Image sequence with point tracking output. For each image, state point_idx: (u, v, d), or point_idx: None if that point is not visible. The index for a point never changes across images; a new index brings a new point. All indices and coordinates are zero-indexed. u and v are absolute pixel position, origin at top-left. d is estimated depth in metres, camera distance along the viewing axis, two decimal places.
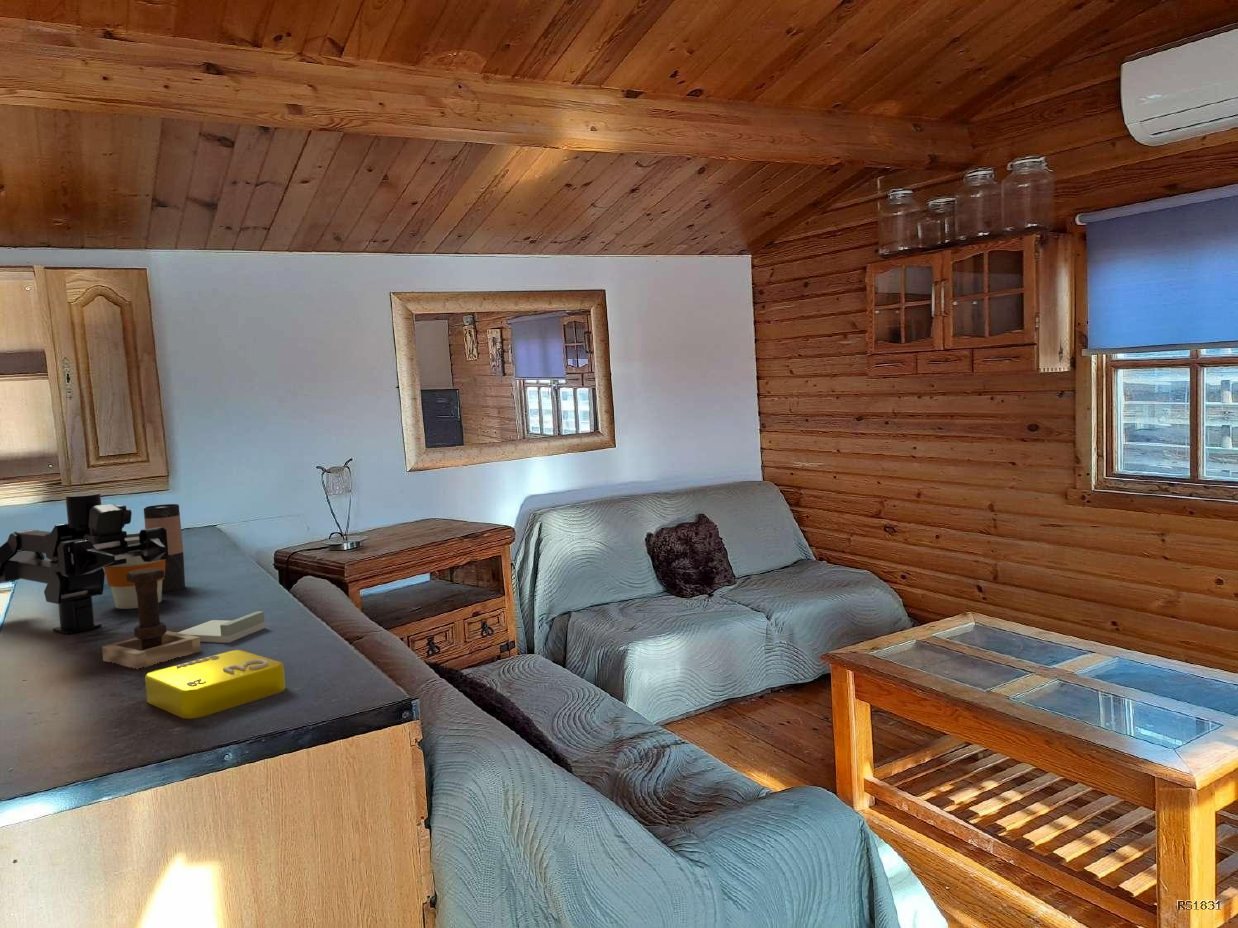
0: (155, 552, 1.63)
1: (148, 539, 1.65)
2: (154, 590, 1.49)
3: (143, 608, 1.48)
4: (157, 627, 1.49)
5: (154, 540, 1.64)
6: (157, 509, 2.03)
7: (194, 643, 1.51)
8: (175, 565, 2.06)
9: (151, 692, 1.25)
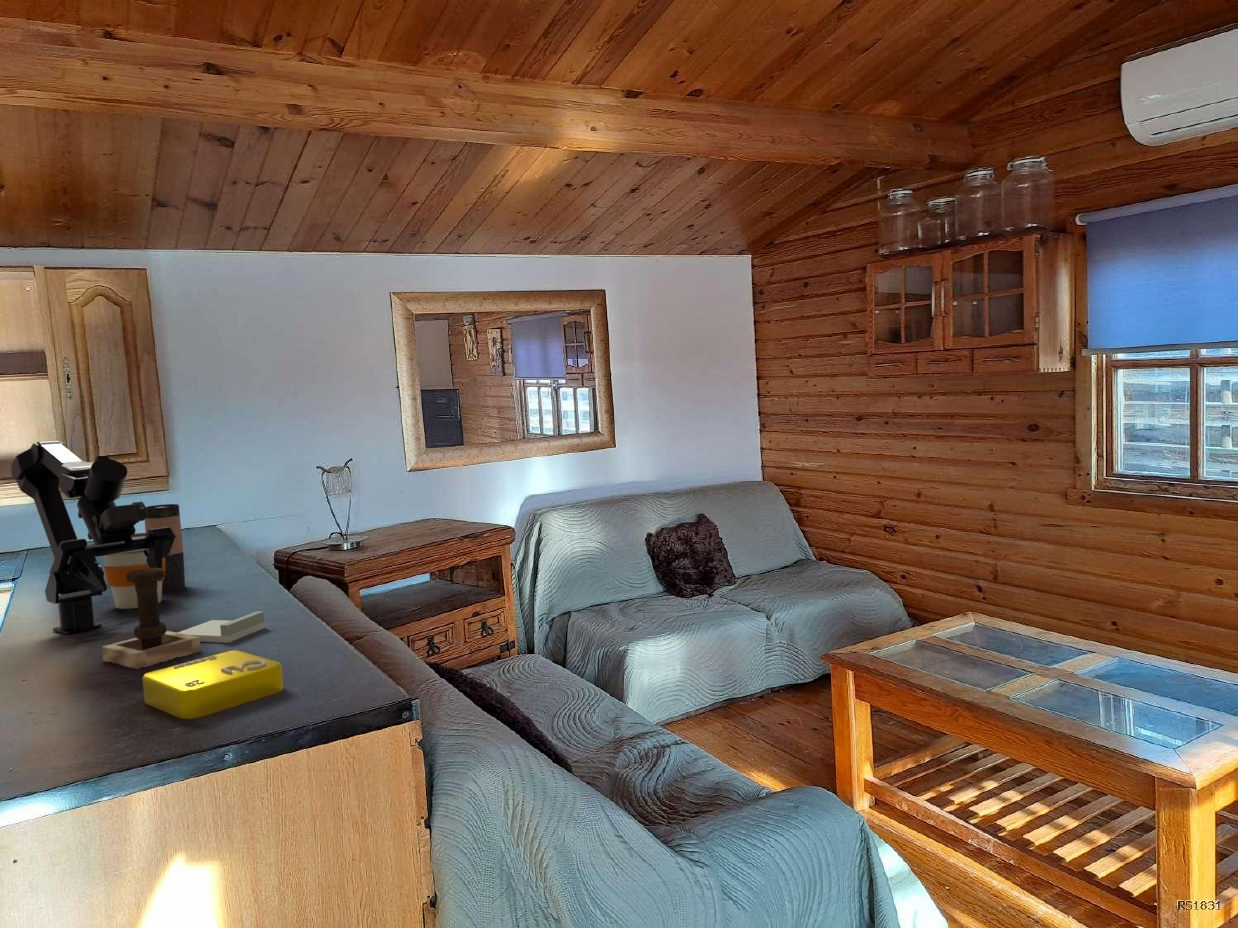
0: None
1: (152, 548, 1.59)
2: (154, 590, 1.49)
3: (143, 608, 1.48)
4: (157, 627, 1.49)
5: (158, 554, 1.58)
6: (157, 509, 2.03)
7: (194, 643, 1.51)
8: (175, 565, 2.06)
9: (148, 693, 1.25)
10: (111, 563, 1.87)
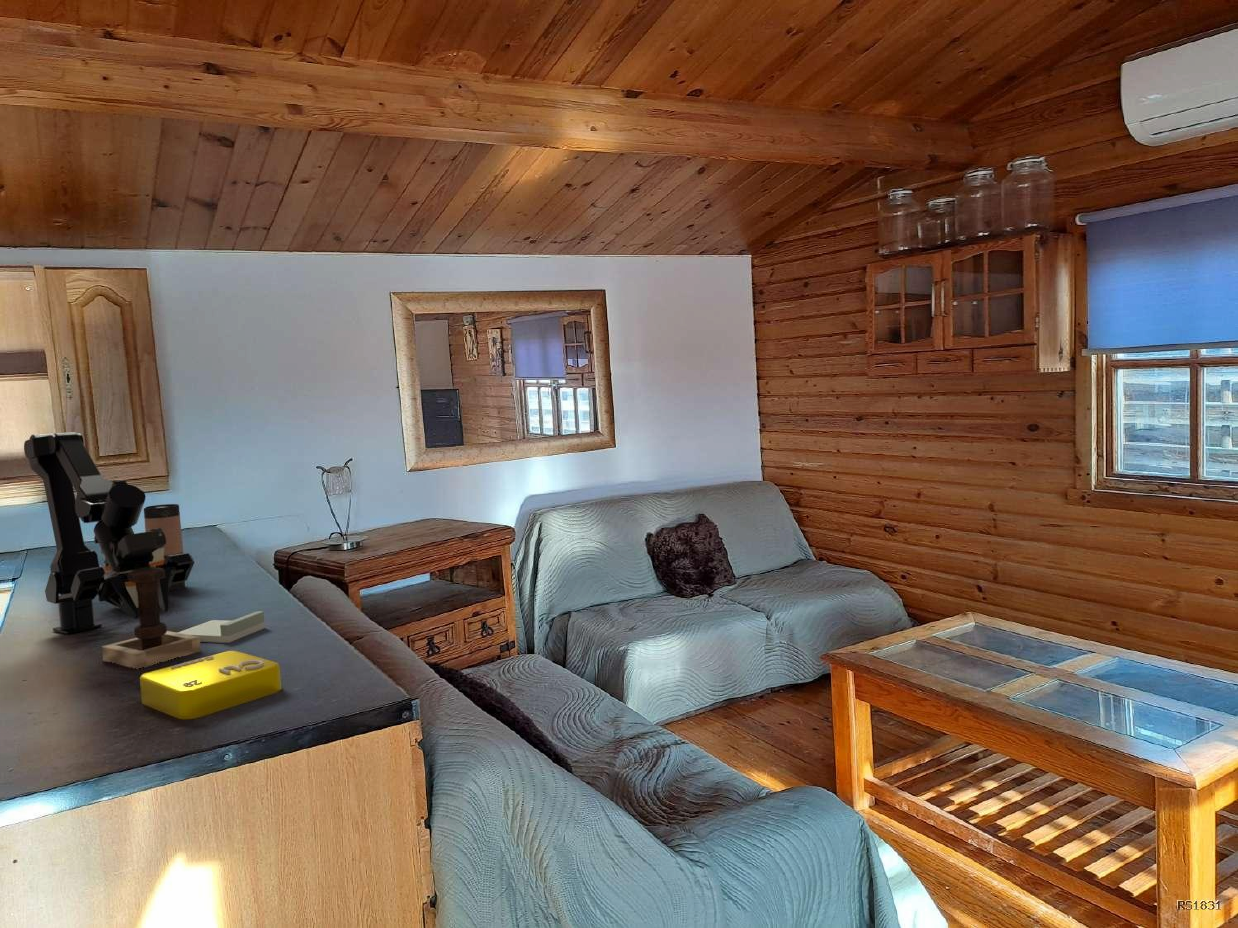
0: None
1: None
2: (155, 590, 1.49)
3: (144, 608, 1.49)
4: (157, 627, 1.49)
5: (163, 584, 1.53)
6: (157, 509, 2.03)
7: (194, 643, 1.51)
8: None
9: (146, 693, 1.25)
10: None
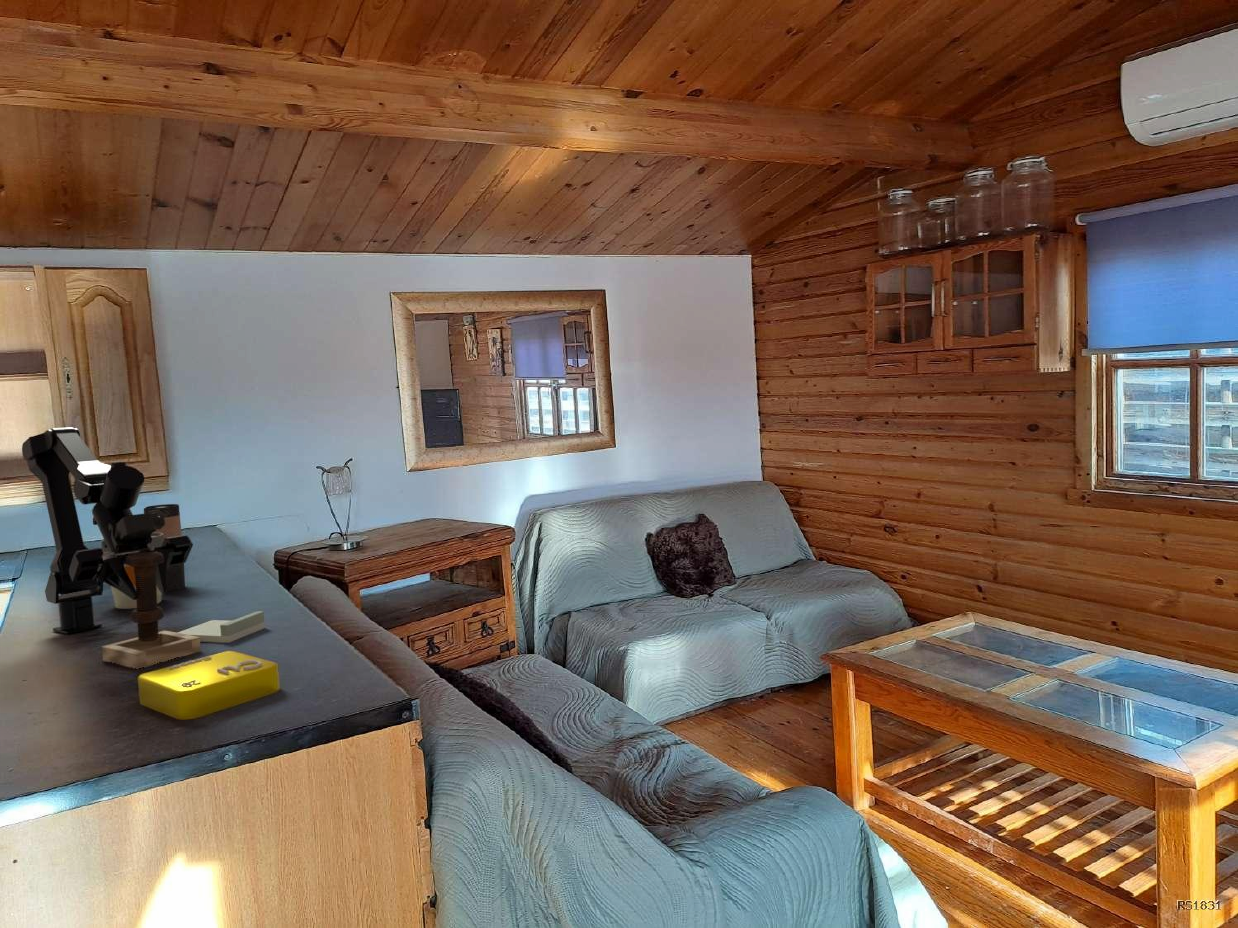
0: (156, 580, 1.52)
1: None
2: (153, 574, 1.49)
3: (141, 592, 1.48)
4: (154, 612, 1.49)
5: (161, 566, 1.52)
6: (157, 509, 2.03)
7: (194, 643, 1.51)
8: None
9: (144, 694, 1.25)
10: None
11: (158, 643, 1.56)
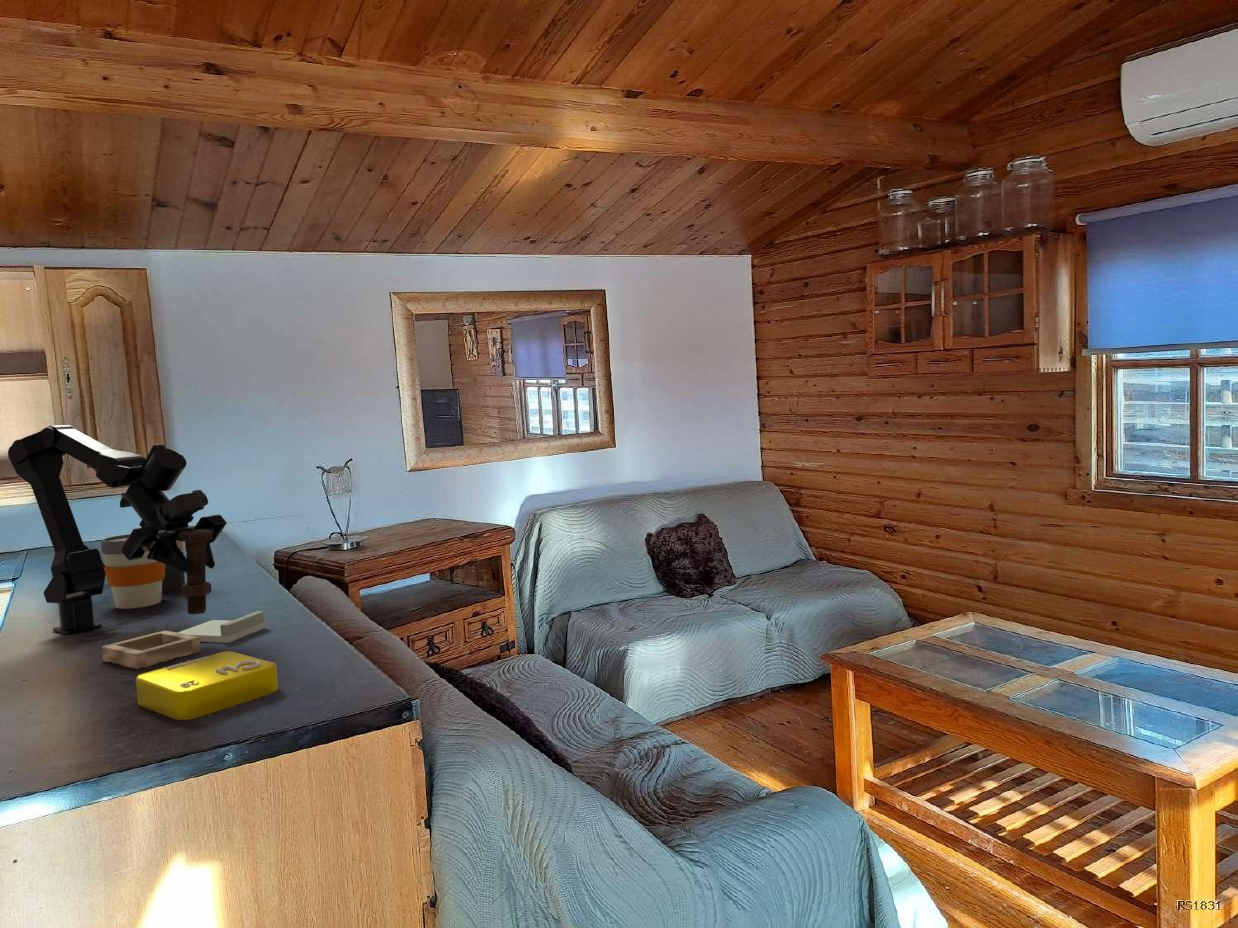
0: None
1: None
2: (204, 550, 1.58)
3: (194, 567, 1.57)
4: (206, 585, 1.58)
5: (206, 543, 1.61)
6: None
7: (194, 643, 1.51)
8: None
9: (142, 694, 1.24)
10: (111, 563, 1.87)
11: (158, 643, 1.56)
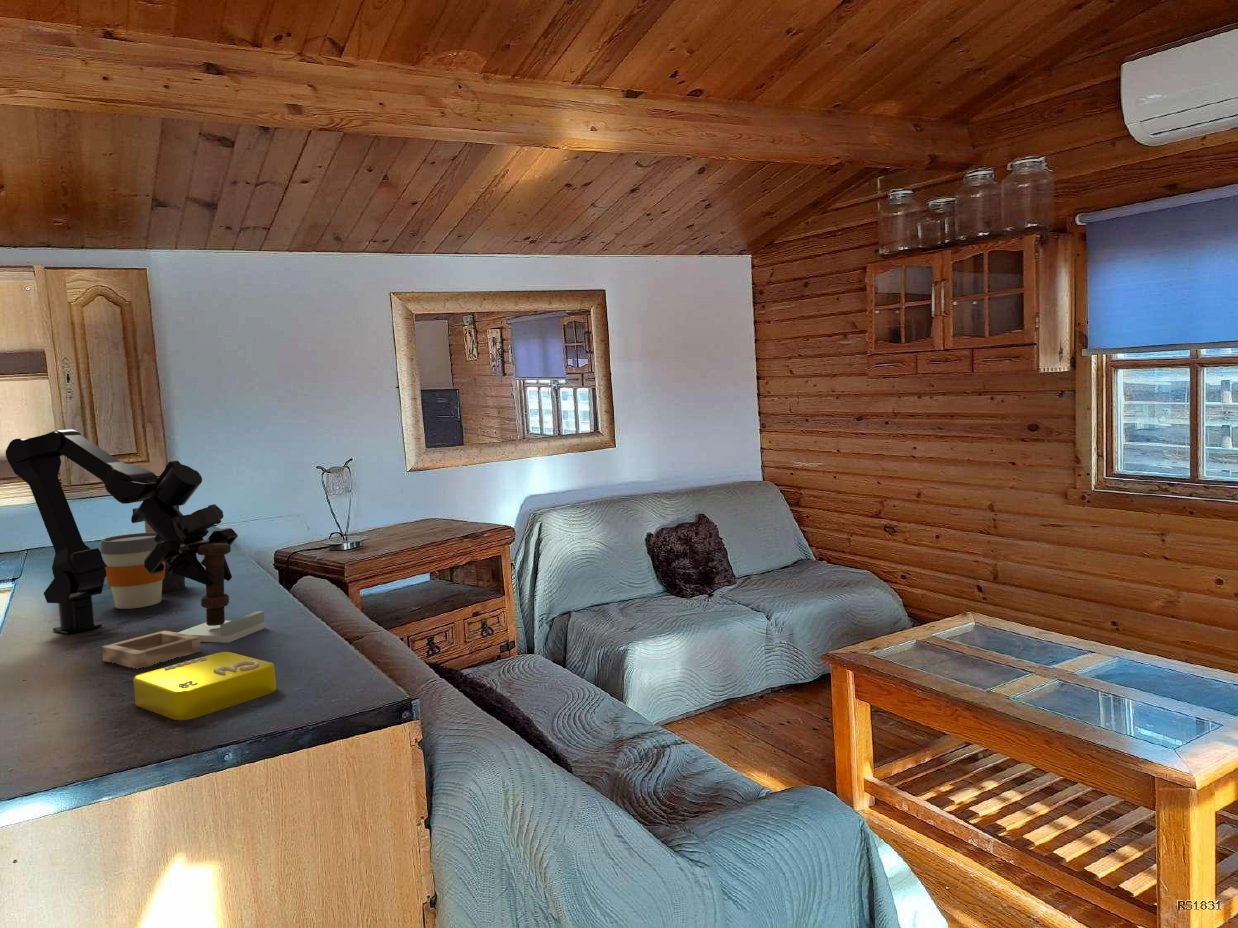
0: None
1: None
2: (223, 563, 1.63)
3: (214, 579, 1.61)
4: (226, 597, 1.62)
5: None
6: None
7: (194, 643, 1.51)
8: None
9: (140, 695, 1.24)
10: (111, 563, 1.87)
11: (158, 643, 1.56)
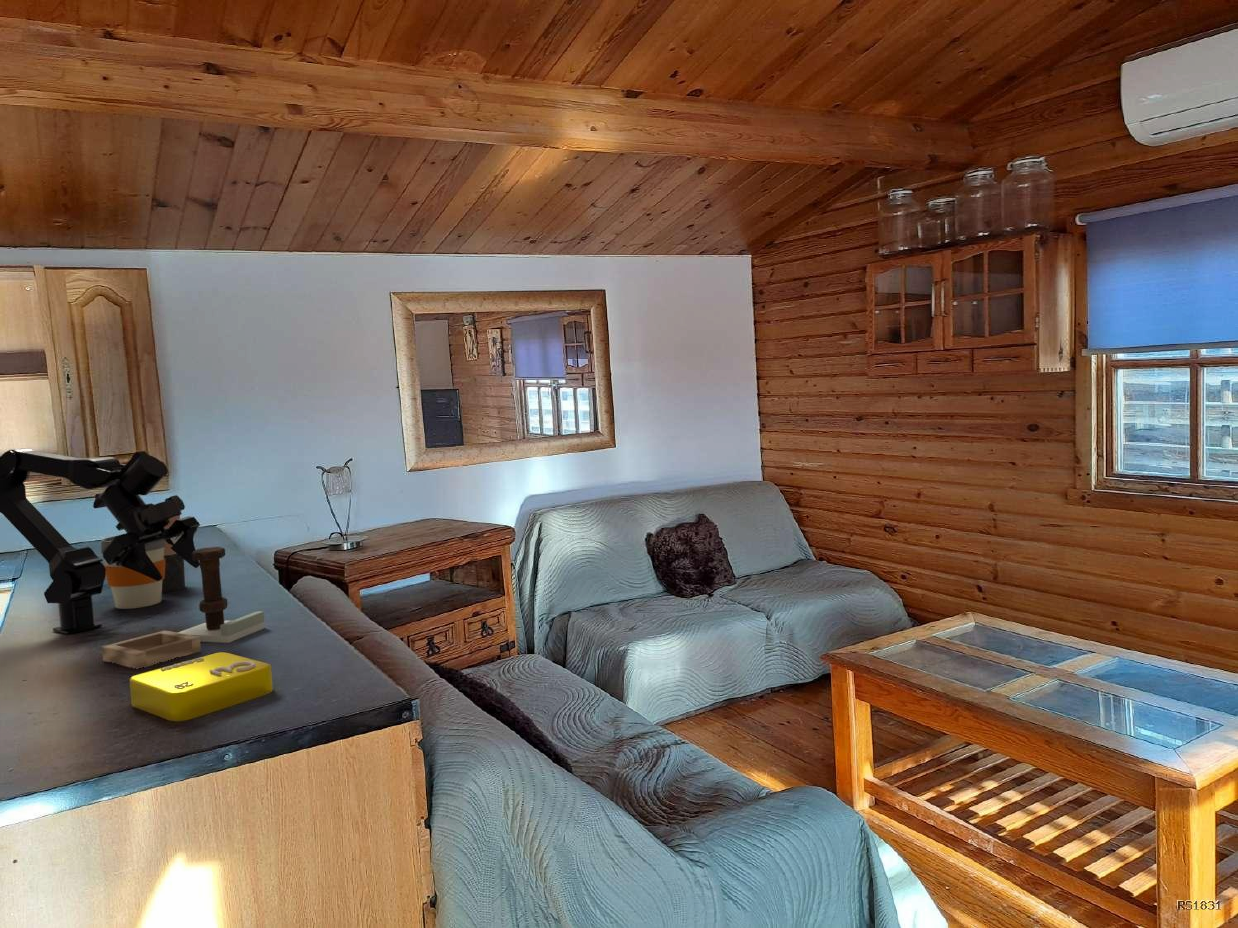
0: (185, 556, 1.71)
1: (184, 538, 1.71)
2: (219, 568, 1.62)
3: (211, 584, 1.61)
4: (224, 600, 1.62)
5: (190, 543, 1.71)
6: None
7: (194, 643, 1.51)
8: (175, 565, 2.06)
9: (136, 696, 1.24)
10: None
11: (158, 643, 1.56)
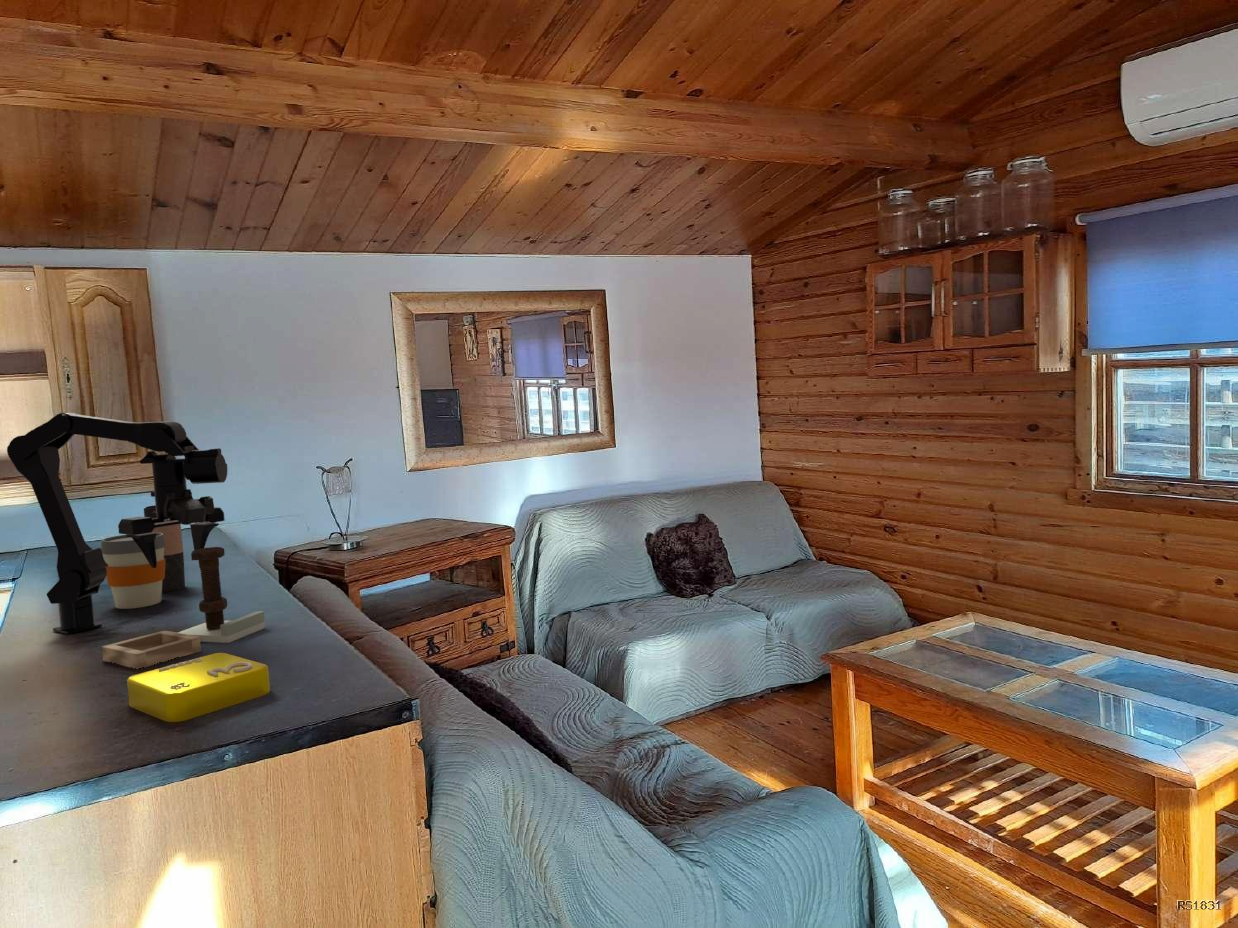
0: (195, 542, 1.77)
1: (202, 529, 1.76)
2: (218, 566, 1.62)
3: (210, 583, 1.61)
4: (223, 600, 1.62)
5: (204, 536, 1.76)
6: None
7: (194, 643, 1.51)
8: (175, 565, 2.06)
9: (133, 696, 1.24)
10: (111, 563, 1.87)
11: (158, 643, 1.56)
